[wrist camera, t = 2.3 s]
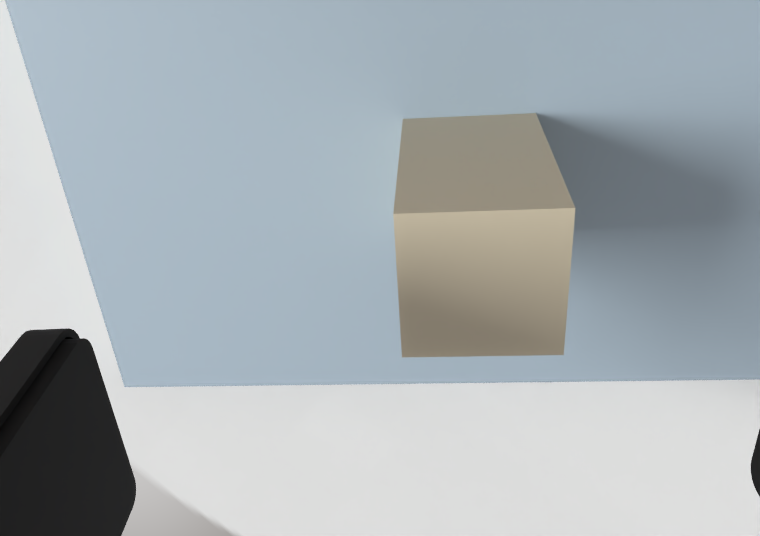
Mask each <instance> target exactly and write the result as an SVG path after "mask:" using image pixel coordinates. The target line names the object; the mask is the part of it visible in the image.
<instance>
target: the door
mask: <svg viewBox="0 0 760 536" xmlns="http://www.w3.org/2000/svg"><path fill="white" fill-rule="evenodd" d="M5 1H6V4H7V8H8V11H9V14H10V17H11V21H12V24H13V27H14V30H15V33H16V37H17V40H18V43H19V46H20V50H21V53H22V56H23V59H24V63H25V66H26V69H27V72H28V76H29V79H30V82H31V85H32V88H33V92H34V95H35V98H36V101H37V105H38V108H39V111H40V114H41V118H42V121H43V124H44V127H45V131H46V134H47V137H48V140H49V143H50V147H51V150H52V153H53V156H54V160H55V163H56V166H57V169H58V173H59V176H60V179H61V182H62V186H63V189H64V192H65V195H66V198H67V202H68V205H69V208H70V211H71V215H72V218H73V221H74V224H75V228H76V231H77V234H78V237H79V241H80V244H81V247H82V250H83V253H84V257H85V260H86V263H87V266H88V270H89V273H90V276H91V279H92V283H93V286H94V289H95V292H96V296H97V299H98V302H99V305H100V308H101V312H102V315H103V318H104V321H105V325H106V328H107V331H108V334H109V338H110V341H111V344H112V347H113V351H114V354H115V357H116V360H117V363H118V367H119V370H120V373H121V376H122V380H123V383H124V386H125V387H171V386H253V385H335V384H416V383H498V382H580V381H662V380H744V379H760V0H5Z"/></svg>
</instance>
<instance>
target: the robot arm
mask: <svg viewBox="0 0 760 536" xmlns="http://www.w3.org/2000/svg"><path fill="white" fill-rule="evenodd" d="M751 475H752V480H753V483H754V486H755V488H756V491H757V493H758V494H759V496H760V430H759V434H758V438H757V442H756V445H755V449H754V453H753V457H752V461H751ZM135 495H136V483H135V478H134V475H133V472H132V469H131V466H130V463H129V459H128V456H127V453H126V450H125V447H124V444H123V441H122V438H121V435H120V431H119V428H118V425H117V422H116V419H115V416H114V413H113V410H112V407H111V404H110V400H109V397H108V394H107V391H106V388H105V385H104V382H103V379H102V376H101V372H100V369H99V366H98V363H97V360H96V357H95V354H94V351H93V348H92V346H91V343H90V342H89V341H88V340H87V339H80V338H79V336H78V334H77V333H76V332H75V331H74V330H72V329H46V330H30V331H26V332H25V333H24V334H23V335H21V337H20V338H19V339H18V340H17V342H16V343H15V344H14V345H13V347H12V348H11V349H10V350H9V352H8V353H7V354H6V355H5V357H4V358H3V359H2V360H1V362H0V536H121V534H122V532H123V530H124V527H125V525H126V522H127V520H128V518H129V515H130V513H131V510H132V508H133V505H134V501H135Z"/></svg>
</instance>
